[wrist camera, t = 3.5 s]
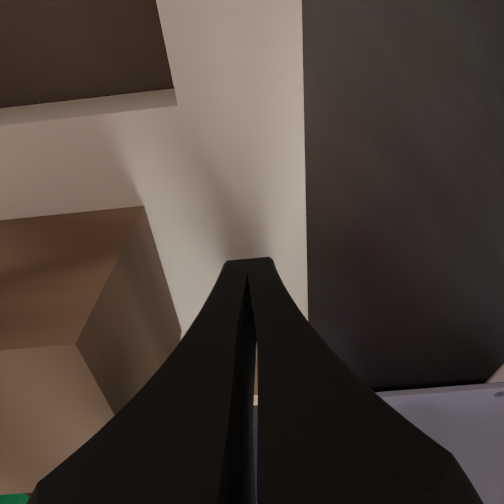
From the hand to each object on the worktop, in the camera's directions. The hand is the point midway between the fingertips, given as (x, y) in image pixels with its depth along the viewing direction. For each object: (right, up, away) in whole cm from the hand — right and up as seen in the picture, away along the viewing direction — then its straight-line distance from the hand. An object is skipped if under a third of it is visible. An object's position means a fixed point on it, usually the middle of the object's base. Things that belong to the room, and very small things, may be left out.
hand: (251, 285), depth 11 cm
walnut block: (-5, 0, +1) cm, 5 cm away
